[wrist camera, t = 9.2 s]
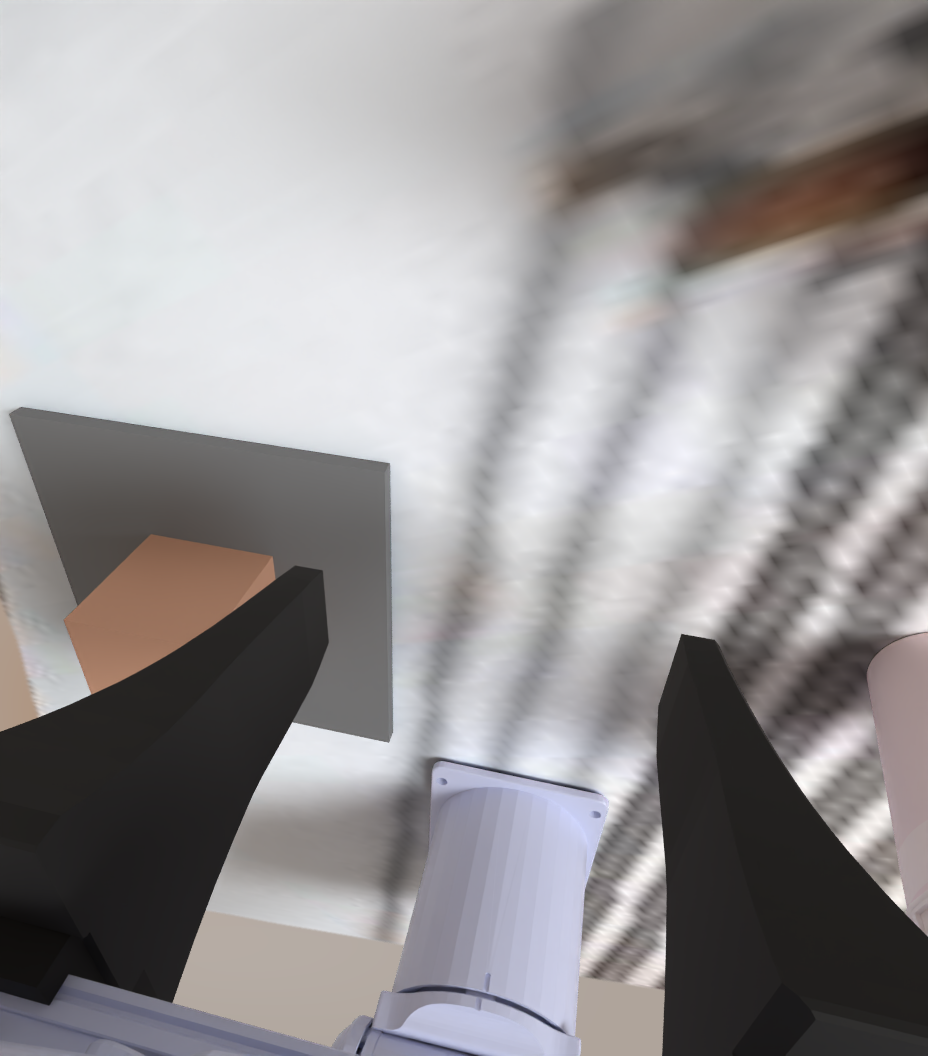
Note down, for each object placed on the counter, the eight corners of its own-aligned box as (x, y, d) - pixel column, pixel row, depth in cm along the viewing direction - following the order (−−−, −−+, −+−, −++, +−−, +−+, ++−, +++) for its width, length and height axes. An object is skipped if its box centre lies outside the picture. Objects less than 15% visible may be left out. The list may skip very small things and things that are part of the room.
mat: (392, 731, 31) (389, 742, 31) (112, 673, 33) (105, 682, 33) (389, 463, 23) (384, 472, 23) (21, 407, 25) (8, 414, 25)
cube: (284, 651, 29) (227, 748, 25) (174, 629, 30) (101, 719, 25) (272, 556, 26) (205, 648, 22) (150, 534, 27) (63, 619, 23)
